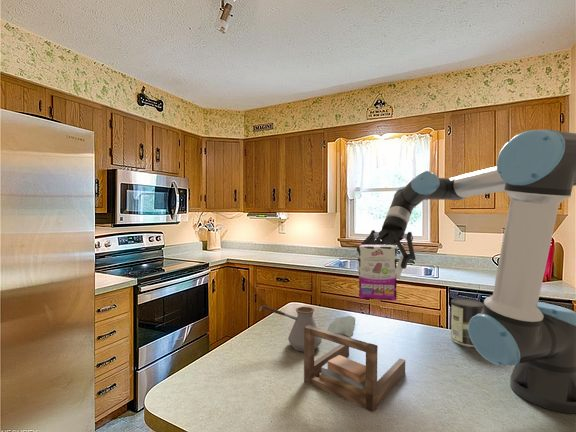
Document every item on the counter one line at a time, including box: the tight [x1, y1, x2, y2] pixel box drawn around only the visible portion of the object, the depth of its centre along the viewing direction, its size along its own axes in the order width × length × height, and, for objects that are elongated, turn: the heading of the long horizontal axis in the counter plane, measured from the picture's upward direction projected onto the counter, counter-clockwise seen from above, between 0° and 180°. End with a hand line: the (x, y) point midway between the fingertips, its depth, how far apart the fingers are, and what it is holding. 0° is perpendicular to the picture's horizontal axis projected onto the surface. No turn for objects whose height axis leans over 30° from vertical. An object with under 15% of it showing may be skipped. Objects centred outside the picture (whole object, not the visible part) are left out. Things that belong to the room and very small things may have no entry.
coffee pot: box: [259, 304, 323, 353], centre depth 106 cm, size 21×12×15 cm, turn 99°
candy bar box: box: [358, 244, 398, 301], centre depth 97 cm, size 11×5×16 cm, turn 77°
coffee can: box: [450, 298, 484, 348], centre depth 112 cm, size 10×10×14 cm
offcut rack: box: [303, 325, 406, 413], centre depth 87 cm, size 20×22×15 cm
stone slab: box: [326, 315, 356, 338], centre depth 126 cm, size 22×3×10 cm
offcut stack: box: [318, 355, 366, 397], centre depth 83 cm, size 14×7×6 cm, turn 50°
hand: (377, 273), depth 97 cm, fingers closed on candy bar box, 12 cm apart
